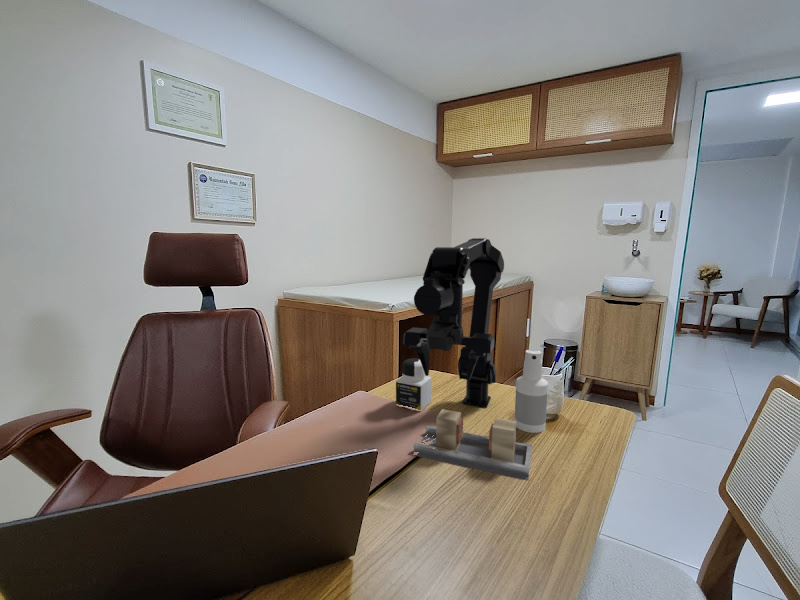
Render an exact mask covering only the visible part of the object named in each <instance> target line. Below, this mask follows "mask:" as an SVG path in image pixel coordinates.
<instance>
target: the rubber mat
mask: <svg viewBox="0 0 800 600" xmlns="http://www.w3.org/2000/svg"><path fill="white" fill-rule="evenodd" d="M426 435H427V434H426V433H425V434H424V436H423V437H422V439H420V442H421V441H423V440H426V439H428V438H430V439H429V440H426V441H425V442H428V441H431V440H433V439H435V438H436V436H435V435H434V436H433V435H430V434H428V435H427V437H425V436H426ZM432 436H433V437H432ZM432 442H433V443H431V444H429V445H428V446H433V447H436V439H435V440H433V441H432ZM421 443H424V442H421ZM424 444H425V443H424ZM457 451H458V452H463V453H468V454H472V455H477V456H482V457H487V458H491V454H492V450H489V446H487V445H482V444H477V443H471V442H466V441H460V445H459V447H458V450H457ZM415 457H419V458H424V459H429V460H434V461H438V462H442V463H448V464H451V465H456V466H459V467H460V466H461V467H465V468H471V469H475V470H480V471H483V472H489V473H493V474H498V475H501V476H508V477H511V478H516V479H521V480H525V481H529V478H530V475H529V476H525V475H521V474H516V473H511V472H507V471H502V470H497V469H493V468H488V467H483V466H478V465H474V464H469V463H464V462H460V461H455V460H450V459H446V458H441V457H436V456H432V455H427V454H422V453H418V454H417V455H416V456H415ZM525 460H526V453H523V452H518V451H515V457H514V462H513V463H517V464H521V465H525Z"/></svg>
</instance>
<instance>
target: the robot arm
mask: <svg viewBox="0 0 800 600" xmlns="http://www.w3.org/2000/svg"><path fill="white" fill-rule="evenodd" d="M504 268H505V261H504V258H503V254H502V252H501V250H499V249H497V247H495V246H494V245H493V244H492V243H491V240H490V239H489V238H488V239H487V238H486V237H484V238H482V237H478V238H473V237H472V238H471V239H468V240H467V241H465V242H463V243H461V244H458V245H456V246H453V247H451V246H450V247H448V246H447V247H445V246H442V247H438V246H437V247H435V248H433V250H432V252H431V254H430V255H429V258H428V261H427V265H426V267H425V270H424V273H423V276H422V281H423V283H422V284H423V285H422V286H420V287H419V288H417V289H416V292H414V296H413V302H414V306H415V308H416V310H417V311H418V312H419V313H421V315H422V314H423V315H425V316H432V315H433V316H432V317H433V318H432V322H431V325H430V326H429V328H425V327H424V328H423V327H414V326H413V327H412V328H410V329H408V330H406V331H405V332H404V333H403V336H402V344H403V345H404V346H408V348H409V350H413V351H414V352H415V353H416V355H417V358H418V359H420V361H421V364H422V367H423V370H424V372H425V375H426V376H429V375H430V374H429V373H430V350H433V351H434V350H440V351H444V352H448V351H450V350H452V348H453V345H455V346H456V345H458V346H462V347H461V349H460V353H459V355H460V357H459V358H458V361H457V370H458V377H459V378H458V379H460V380H465V381H466V383H465V384H466V386H465V387H466V389H465V390H466V391H465V392H466V393H465V396H464V398H463V400H462V404H464V405H469V406H476V407H483V408H488V406H489V405H490V403H491V402H490V401H491V399H492V396H490V395H489V385H492V384H495V383H496V382H497V370H496V367H495V364H494V362H493V361H492V360H493V354H492V350H493V349H494V347H495V336H494V335H493V334H491V333H489V328H490V319H491V311H492V301H493V294H494V288H495V287H496V286H497V284H498V283H499V282H500V281H501V279H502V273H503V272H504ZM469 270H470V273H469V275H470V278H471V280H472V282H473V283H472V284H473V285H474V293H473V294H474V295H473V302H472V303H473V304H472V309H471V310H472V311H471V320H470V329H469V336H464V330H463V329H464V328H463V297H464V296H463V291H464V289H463V288H464V286H463V285H464V284H466V283H465V278H466V275H467V273H468V271H469ZM463 346H464V347H463Z"/></svg>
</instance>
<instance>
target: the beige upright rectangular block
mask: <svg viewBox="0 0 800 600" xmlns="http://www.w3.org/2000/svg"><path fill="white" fill-rule="evenodd" d="M489 427H490V428H489V431H488V432H489V433H488V434H489V436H488V437H489V450H492V454H491V458H492V459H497V460H502V461H507V462H512V463H513V462H514V457H515V442H517V441H516V437H517V427H516V421H514V420H509V419H503V418H497V417H496V418H494V421H493V423H491V425H490V426H489Z"/></svg>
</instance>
